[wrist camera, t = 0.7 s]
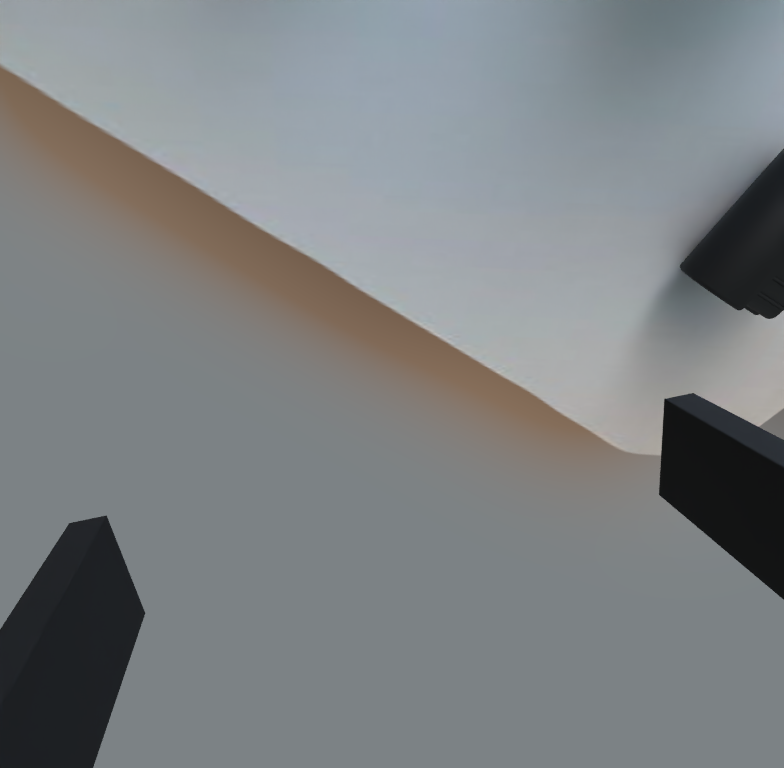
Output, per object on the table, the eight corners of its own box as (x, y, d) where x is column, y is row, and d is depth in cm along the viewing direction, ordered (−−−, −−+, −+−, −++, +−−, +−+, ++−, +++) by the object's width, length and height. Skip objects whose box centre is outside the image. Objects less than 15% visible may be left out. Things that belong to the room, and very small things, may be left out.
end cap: (763, 132, 37) (842, 160, 32) (817, 179, 40) (897, 212, 35) (659, 254, 42) (713, 295, 37) (714, 288, 45) (771, 331, 40)
